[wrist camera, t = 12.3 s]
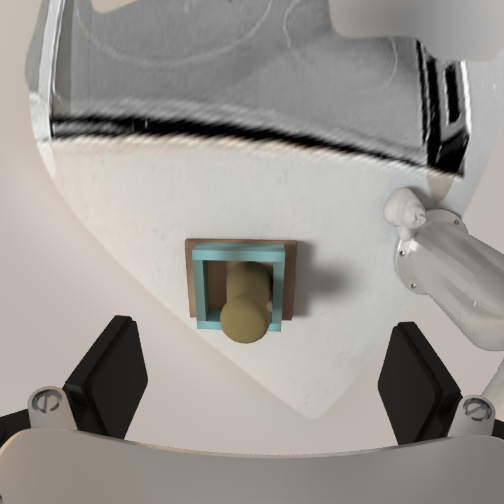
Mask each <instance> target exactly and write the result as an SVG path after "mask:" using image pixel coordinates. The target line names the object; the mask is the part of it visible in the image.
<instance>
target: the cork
mask: <svg viewBox="0 0 504 504" xmlns="http://www.w3.org/2000/svg"><path fill="white" fill-rule="evenodd" d="M272 283H273V280H272V276H271V273H270V272H269V270H268V269H267V268H266V267H265V266H263V265H262V264H261V263H258V262H255V261H244V262H240V263H238V264H236V265H235V266H233V267H232V268H231V270H230V271H229V272H228V275H227V278H226V289H227V303H226V304H225V306H224V307H223V309H222V312H221V315H220V323H221V327H222V329H223V332H224V333H225V334H226V335H227V336H228V337H229V338H230V339H232V340H233V341H235V342H239V343H246V344H248V343H253V342H255V341H257V340H259V339H261V338H262V337H263V336H264V335H265V334H266V332H267V330H268V328H269V326H270V313H269V310H268V308H267V305H268V301H269V297H270V294H271V290H272Z"/></svg>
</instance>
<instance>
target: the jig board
mask: <svg viewBox="0 0 504 504" xmlns="http://www.w3.org/2000/svg"><path fill="white" fill-rule="evenodd" d="M296 246H297V243H296V241H287V240H240V239H186V240H185V255H186V270H187V284H188V297H189V308H190V317H197V329H214V330H223V329H222V327H221V323H220V315H221V312H222V309H223V307H224V306H225V304H226V303H227V289H226V278H227V275H228V272H229V271H230V270H231V268H232V267H233V266H235V265H236V264H238V263H240V262H244V261H255V262H258V263H261V264H262V265H263V266H265V267H266V268H267V269H268V270H269V272H270V273H271V276H272V280H273V283H272V290H271V294H270V297H269V301H268V305H267V308H268V310H269V313H270V326H269V328H268V330H267V331H275V332H281V321H282V320H292V308H293V295H294V280H295V264H296Z"/></svg>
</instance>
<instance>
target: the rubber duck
mask: <svg viewBox="0 0 504 504" xmlns="http://www.w3.org/2000/svg"><path fill="white" fill-rule="evenodd" d="M384 219H385V220H386V221H387V222H388V223H390V224H391V225H393V226H396V227H395V231H396V233H397V234H398V235H399V237H400V239H401V240H402V241H404V242H408V241H410V240H411V239H412V229H417V228H420V227H421V226H423V225H424V224H425V222H426V220H427V214H426V210H425V208H424V207H423V205H422V203H421V202H420V200H419V199H418V197H417V196H416V195H415V194H414V193H413V192H412V191H411V190H410V189H408V188H399V189H396V190H395V191H394V192H393V193H392V194H391V195H390V196H389V197H388V200H387V201H386V203H385V205H384Z"/></svg>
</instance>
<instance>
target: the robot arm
mask: <svg viewBox="0 0 504 504" xmlns="http://www.w3.org/2000/svg"><path fill="white" fill-rule="evenodd" d="M426 214H427V220H426V222H425V224H424V225H423V226H421V227H420V228H417V229H412V239H411V240H410V241H408V242H404V241H402V240H401V239H400V237H399V239H398V241H397V244H396V248H395V256H394V262H395V269H396V272H397V275H398V277H399V278H400V280H401V282H402V283H403V284H404V285H405V286H406V287H407V288H408V289H409V290H410V291H412V292H415V293H417V294H422V295H429V296H430V297H431V298H432V299H433V300H434V301H435V302H436V303H437V305H438V306H439V307H440V308H441V309H442V310H443V311H444V312H445V313H446V315H447V316H448V317H449V318H450V319H451V320H452V321H453V322H454V324H455V325H456V326H457V327H458V328H459V329H460V330H461V332H462V333H463V334H464V335H465V336H466V337H467V338H468V339H469V341H470V342H472V343H473V344H474V345H475V346H477V347H478V348H480V349H483V350H486V351H504V255H503V254H502V253H500V252H498V251H497V250H495V249H494V248H492V247H490V246H488V245H487V244H485V243H483V242H482V241H480V240H478V239H476V238H474V237H473V236H471V235H469V234H468V231H467V229H466V227H465V224H464V223H463V222H462V220H461V219H460V218H459V217H458V216H457V215H455V214H454V213H452V212H450V211H447V210H444V209H429V210H426ZM400 252H401V253H400ZM147 382H148V376H147V371H146V367H145V363H144V358H143V353H142V348H141V343H140V338H139V333H138V328H137V323H136V321H133V320H132V318H131V317H130V316H120V315H116V316H114V318H113V319H112V320H111V322H110V323H109V324H108V325H107V327H106V328H105V329H104V331H103V332H102V333H101V335H100V336H99V337H98V338H97V340H96V341H95V342H94V344H93V345H92V347H91V348H90V349H89V351H88V352H87V353H86V355H85V356H84V357H83V359H82V360H81V361H80V363H79V364H78V365H77V367H76V368H75V370H74V371H73V372H72V374H71V375H70V377H69V378H68V379H67V381H66V382H65V385H64V386H63V388H62V389H61V388H58V387H55V386H47V387H43V388H40V389H38V390H36V391H35V392H34V393H33V394H32V395H31V396H30V397H29V400H28V409H25V410H22V411H19V412H15V413H12V414H9V415H6V416H2V417H0V504H504V359H503V361H502V363H501V364H500V366H499V367H498V370H497V372H496V374H495V375H494V377H493V378H492V379H491V381H490V383H489V384H488V386H487V387H486V388H485V390H484V391H483V393H482V394H481V395H480V396H479V395H468V396H465V397H464V398H463V396H462V395H461V393H460V392H461V390H460V389H459V387H458V385H457V384H456V382H455V381H454V379H453V378H452V376H451V374H450V373H449V372H448V370H447V368H446V367H445V365H444V364H443V362H442V361H441V359H440V358H439V356H438V355H437V353H436V352H435V351H434V349H433V348H432V346H431V345H430V343H429V342H428V341H427V339H426V338H425V336H424V335H423V334H422V332H421V331H420V329H419V328H418V326H417V325H416V324H415V323H414V322H399V323H398V325H397V326H395V327H394V328H393V330H392V334H391V338H390V342H389V345H388V349H387V353H386V357H385V360H384V363H383V367H382V371H381V374H380V377H379V380H378V390H379V393H380V396H381V399H382V401H383V404H384V407H385V409H386V411H387V415H388V417H389V420H390V423H391V425H392V428H393V431H394V434H395V437H396V439H397V442H398V446H391V447H383V448H376V449H368V450H360V451H350V452H338V453H324V454H302V455H252V454H230V453H217V452H205V451H194V450H186V449H178V448H170V447H163V446H157V445H151V444H145V443H139V442H133V441H128V440H124V438H125V435H126V433H127V431H128V428H129V426H130V423H131V421H132V419H133V416H134V414H135V411H136V409H137V407H138V405H139V402H140V400H141V398H142V396H143V393H144V391H145V389H146V386H147Z"/></svg>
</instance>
